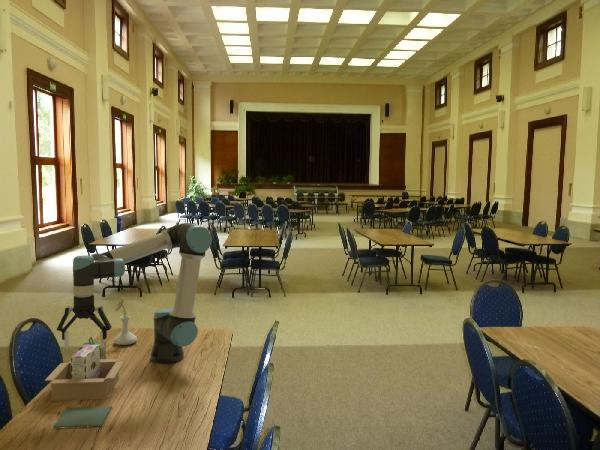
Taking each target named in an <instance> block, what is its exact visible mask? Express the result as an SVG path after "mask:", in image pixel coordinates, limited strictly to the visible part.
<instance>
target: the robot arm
mask: <svg viewBox="0 0 600 450" xmlns="http://www.w3.org/2000/svg"><path fill="white" fill-rule="evenodd" d="M212 236H213V235H212V234H211V232H210V230H209V229H208V228H207V227H204V226H203V225H200V224H193V223H190V222H189V223H188V222H182V223H179V224H176V225H173V226H170V227H168V228H164V229H162V230H161V231H160V233H157V234H153V235H152V236H148V237H145V238H142V239H140V240H137V241H134V242H131V243H128V244H125V245H122V246H120V247H117V248H114V249H111V250H108V251H105V252H102V253H93V254H91V255H85V254H84V255H76V256H74V257H73V259H72V279H73V281H72V282H73V284H72V285H73V290H72V293H73V307H71V306H66V307H65V308H64V314H63V315H62V317H61V320H60V321H59V323H58V325H57V327H56V331H59V332H61V339H62V341H64V349H66V350H67V349H69V347H70V331H69V330H68V329H69V328H70V326H71V325H72V324H73V323H74V322H75V321H76V320H77V319H79V320H81V319H82V320H83V319H84V320H85V319H86V320H87V319H90V320H91V321H93V323H94V324H95V325H96V326H97V327H98V328H99V329H100V330H101V331H100V333H99V334H100V341H99V342H101V348H103V347H104V342H105V340H106V339H107V334H108V331H110V330H111V329H112V324H111V323H110V321H109V319H108V317H107V315H106V314H105V312H104V306H102V305H100V306H97V307H96V306H95V295H94V294H95V280H98V279H99V280H100V279H109V278H119V277H123V276H124V275H125V274H126V273H125V272H126V265H125V264H128V263H130V262H132V261H136V260H138V259H142V258H144V257H147V256H150V255H153V254H155V253H158V252H161V251H163V250H174V249H176V248H179V249H178V250H179V251H178V253H179V255H180V257H181V261H180V265H179V266H180V267H179V273H178V279H177V284H176V293H175V299H174V306H173V308H163V309H160V310H156V311H155V312H154V314H153V328H154V329H153V331H154V333H153V336H154V342H153V346H152V350H151V351H150V352H151V353H150V360H151V361H152V362H153V363H156V364H157V363H158V364H170V363H176V362H179V361H181V360H182V359H183V358H184V357H185V355H184V354H185V353H184V352H185V350H184V348H183V347H187V346H190V345H191V344H192V343H193V342H195V341H196V338H197V336H198V333H199V331H198V327H197V324H195V323H196V314H195V313H194V308H195V307H194V306H195V300H196V295H197V288H198V287H197V286H198V281H199V277H200V276H199V274H200V267H201V262H202V259H203V258H205V257H206V252H207V251H208V250H209V249H210V248H211V246H212V244H213V243H212V242H213V238H212ZM95 311H96V313H97V314H98V315H99V317H100V318H98V317H97V315H96V313H95ZM71 312H73V313H74V315H73V317H72V318H71V319H70V320H69V321H68V322H67V324H65V323H66V321H67V319H68V317H69V315H70V313H71ZM100 319H101V320H100Z"/></svg>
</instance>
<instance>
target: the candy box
mask: <svg viewBox="0 0 600 450" xmlns="http://www.w3.org/2000/svg"><path fill="white" fill-rule="evenodd" d="M79 349H80V348H79ZM79 349H78V351H77V352H75V353H74V354H73V355H72V356H70V361H71V373H72V379H96V378H101V373H100V346H99V345H85V346H84V347H83V348H82V349H80V350H79Z"/></svg>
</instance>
